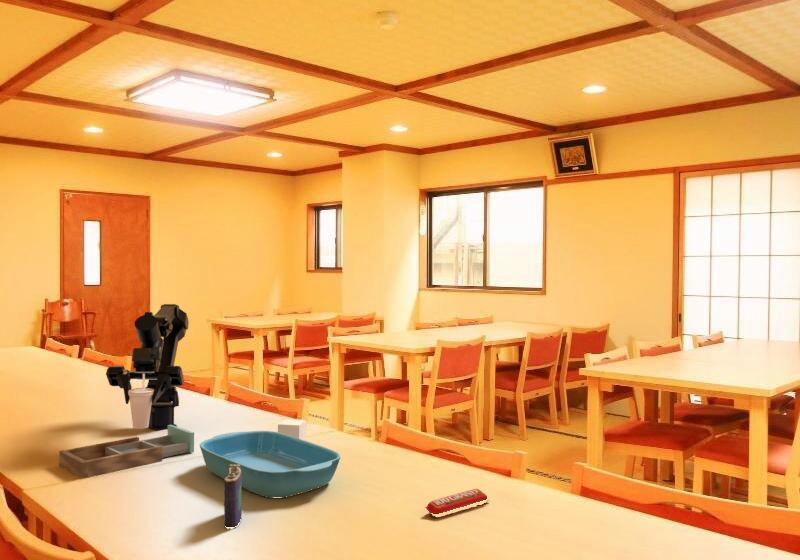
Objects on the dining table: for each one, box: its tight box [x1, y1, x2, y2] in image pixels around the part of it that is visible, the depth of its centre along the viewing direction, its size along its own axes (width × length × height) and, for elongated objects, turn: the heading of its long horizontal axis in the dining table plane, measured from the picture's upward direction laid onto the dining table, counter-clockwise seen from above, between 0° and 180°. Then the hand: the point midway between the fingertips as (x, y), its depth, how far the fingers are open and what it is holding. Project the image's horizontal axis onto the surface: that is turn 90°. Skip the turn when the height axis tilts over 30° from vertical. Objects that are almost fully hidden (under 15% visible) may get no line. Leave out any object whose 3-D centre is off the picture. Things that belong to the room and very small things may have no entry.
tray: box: [105, 425, 195, 459], centre depth 168 cm, size 18×12×5 cm, turn 138°
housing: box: [58, 436, 163, 479], centre depth 161 cm, size 19×13×4 cm
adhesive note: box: [277, 418, 307, 441], centre depth 182 cm, size 6×6×6 cm
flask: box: [223, 464, 242, 527], centre depth 127 cm, size 9×3×11 cm, turn 8°
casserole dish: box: [199, 430, 341, 498], centre depth 153 cm, size 37×22×7 cm, turn 46°
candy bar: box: [424, 488, 488, 514], centre depth 135 cm, size 16×4×3 cm, turn 129°
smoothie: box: [128, 373, 154, 430], centre depth 173 cm, size 6×6×14 cm
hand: (139, 403), depth 171 cm, fingers closed on smoothie, 6 cm apart
